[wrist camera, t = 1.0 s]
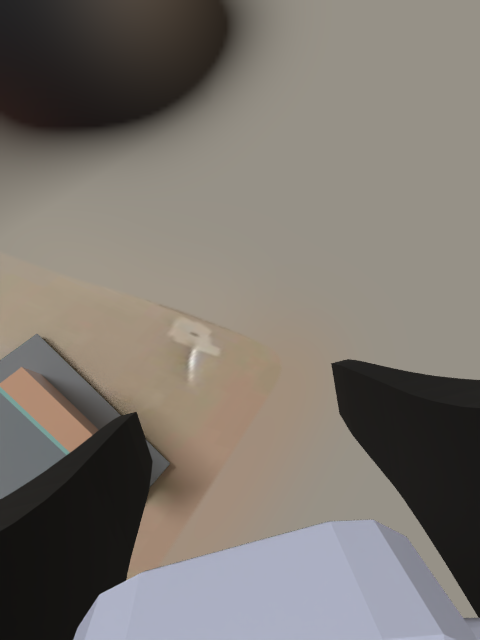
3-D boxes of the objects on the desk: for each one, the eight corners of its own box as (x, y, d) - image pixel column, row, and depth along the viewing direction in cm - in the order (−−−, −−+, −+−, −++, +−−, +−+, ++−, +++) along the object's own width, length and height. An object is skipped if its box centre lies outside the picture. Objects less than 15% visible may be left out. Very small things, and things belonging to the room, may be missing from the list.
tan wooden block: (112, 478, 22) (111, 497, 18) (20, 390, 22) (-6, 387, 17) (130, 459, 23) (133, 473, 18) (41, 374, 22) (21, 366, 18)
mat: (28, 625, 19) (26, 629, 19) (-150, 471, 18) (-155, 472, 18) (169, 462, 24) (170, 463, 24) (38, 334, 23) (36, 333, 23)
